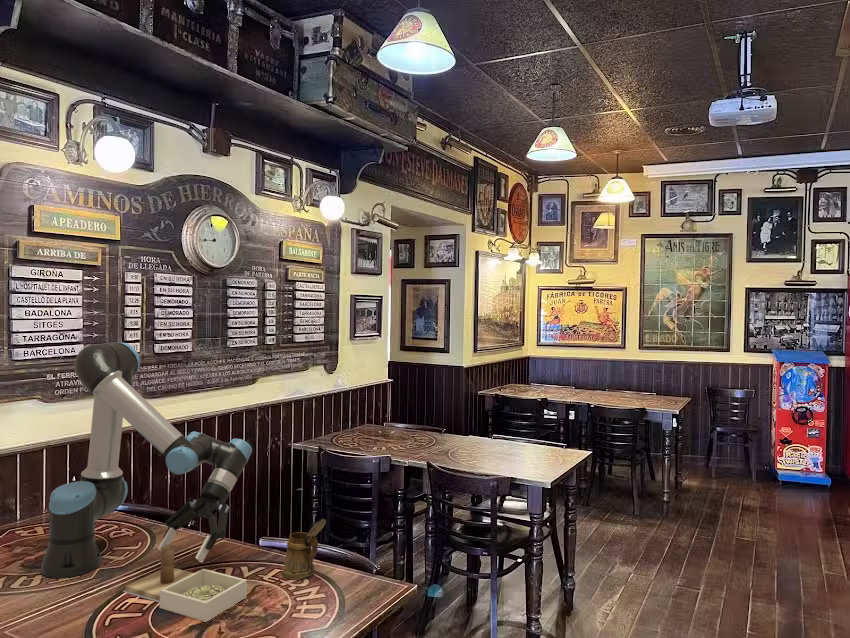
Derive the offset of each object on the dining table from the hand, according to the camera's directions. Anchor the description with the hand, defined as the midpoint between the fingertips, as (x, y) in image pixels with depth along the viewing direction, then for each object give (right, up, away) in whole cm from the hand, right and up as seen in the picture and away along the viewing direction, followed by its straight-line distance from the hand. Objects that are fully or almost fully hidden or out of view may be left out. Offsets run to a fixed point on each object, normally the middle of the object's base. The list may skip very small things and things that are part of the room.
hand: (179, 556), depth 173 cm
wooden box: (+10, -8, -11) cm, 17 cm away
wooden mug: (+33, -9, +8) cm, 35 cm away
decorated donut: (+10, -9, -11) cm, 17 cm away
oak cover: (-3, -7, -2) cm, 8 cm away
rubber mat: (-3, -8, -2) cm, 9 cm away
